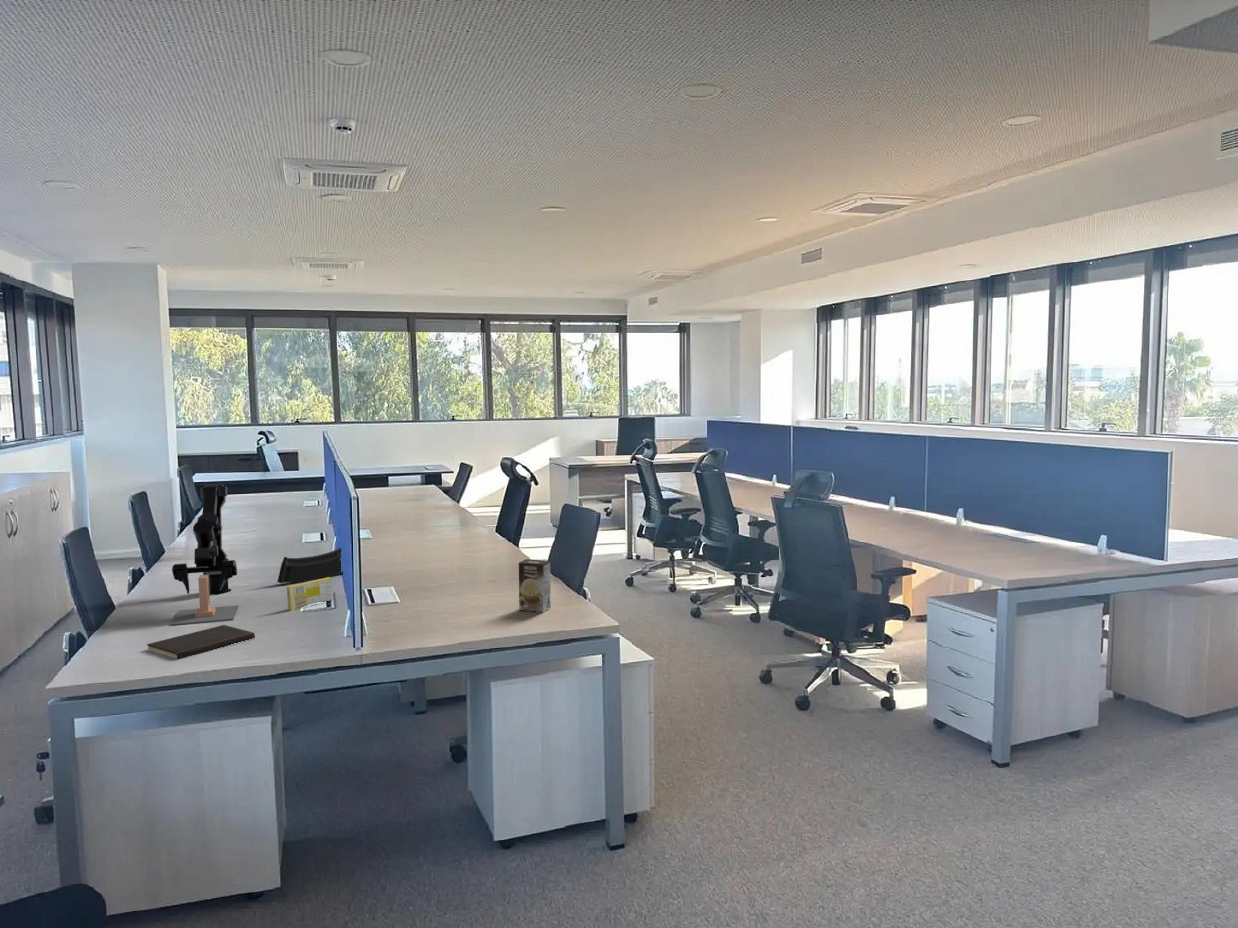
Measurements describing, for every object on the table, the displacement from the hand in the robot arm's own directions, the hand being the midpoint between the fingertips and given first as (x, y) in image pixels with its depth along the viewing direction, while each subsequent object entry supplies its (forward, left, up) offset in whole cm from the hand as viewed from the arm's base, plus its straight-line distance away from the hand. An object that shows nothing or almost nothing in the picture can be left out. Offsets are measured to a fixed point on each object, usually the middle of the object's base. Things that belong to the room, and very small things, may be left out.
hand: (203, 591), depth 271 cm
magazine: (-3, +57, -9) cm, 58 cm away
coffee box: (+98, +42, -8) cm, 107 cm away
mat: (-1, +1, -8) cm, 8 cm away
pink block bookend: (-1, +1, -8) cm, 8 cm away
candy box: (+23, +23, -9) cm, 33 cm away
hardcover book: (+24, -23, -9) cm, 34 cm away
